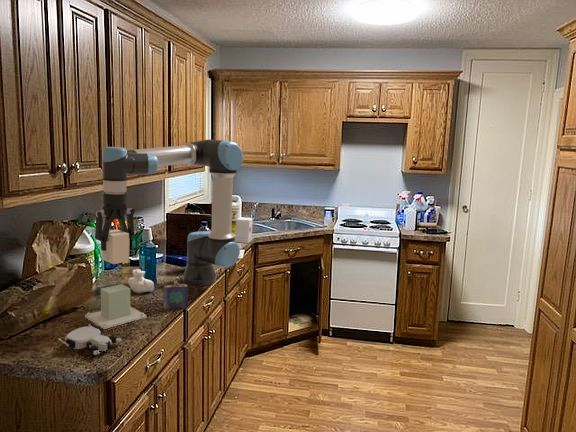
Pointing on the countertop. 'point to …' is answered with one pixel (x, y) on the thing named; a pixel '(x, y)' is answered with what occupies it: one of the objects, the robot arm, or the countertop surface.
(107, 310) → the sage brick
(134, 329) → the countertop surface
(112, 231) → the cream brick
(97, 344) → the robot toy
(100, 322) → the baseplate
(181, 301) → the flask
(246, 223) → the supplement box
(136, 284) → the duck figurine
